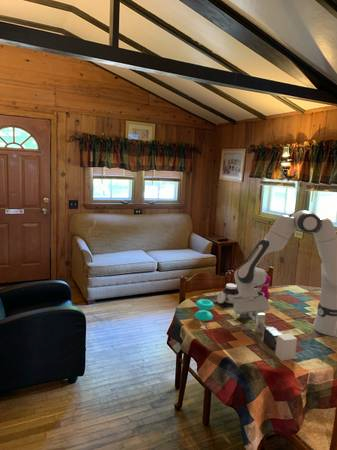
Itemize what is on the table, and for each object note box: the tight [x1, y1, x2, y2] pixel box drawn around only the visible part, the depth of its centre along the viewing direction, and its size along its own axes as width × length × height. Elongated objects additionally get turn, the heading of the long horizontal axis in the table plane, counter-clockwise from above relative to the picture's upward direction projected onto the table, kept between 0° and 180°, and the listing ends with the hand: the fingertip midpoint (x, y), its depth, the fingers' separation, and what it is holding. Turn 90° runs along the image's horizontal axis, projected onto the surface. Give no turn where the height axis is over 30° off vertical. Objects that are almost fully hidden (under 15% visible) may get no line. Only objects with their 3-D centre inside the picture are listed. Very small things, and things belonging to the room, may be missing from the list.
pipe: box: [239, 313, 256, 320], centre depth 198 cm, size 6×13×8 cm, turn 78°
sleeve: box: [263, 326, 283, 350], centre depth 168 cm, size 5×8×8 cm, turn 18°
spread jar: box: [216, 283, 240, 306], centre depth 219 cm, size 12×11×12 cm
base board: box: [245, 330, 300, 362], centre depth 170 cm, size 13×28×1 cm, turn 18°
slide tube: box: [254, 312, 277, 343], centre depth 171 cm, size 4×18×10 cm, turn 17°
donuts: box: [194, 298, 215, 322], centre depth 195 cm, size 10×10×10 cm
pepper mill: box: [259, 272, 271, 302], centre depth 222 cm, size 7×7×20 cm
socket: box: [275, 333, 298, 362], centre depth 158 cm, size 7×5×10 cm
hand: (255, 320), depth 183 cm, fingers closed
